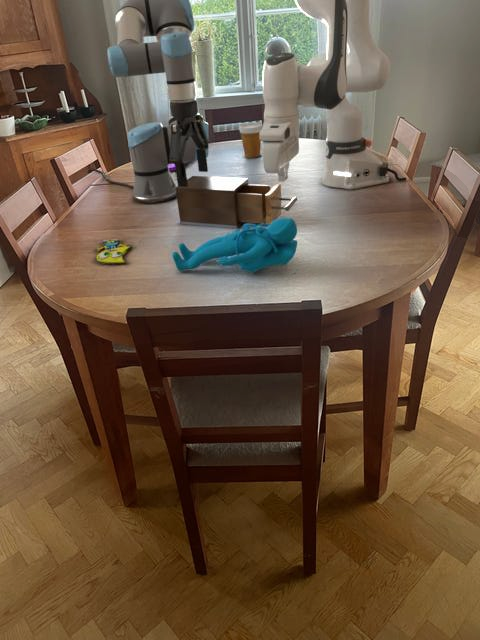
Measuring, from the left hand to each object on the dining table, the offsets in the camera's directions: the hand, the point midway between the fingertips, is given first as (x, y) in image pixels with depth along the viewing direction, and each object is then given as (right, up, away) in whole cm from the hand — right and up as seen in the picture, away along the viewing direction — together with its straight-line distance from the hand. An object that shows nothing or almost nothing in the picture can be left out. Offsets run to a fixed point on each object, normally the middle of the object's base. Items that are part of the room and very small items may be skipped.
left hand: (193, 178), depth 140 cm
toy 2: (+13, -29, -25) cm, 40 cm away
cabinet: (+6, -11, +4) cm, 13 cm away
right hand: (+25, -3, -10) cm, 28 cm away
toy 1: (-21, -23, -11) cm, 33 cm away
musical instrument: (-14, +24, +61) cm, 67 cm away
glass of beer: (+19, +28, +62) cm, 70 cm away
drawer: (+19, -12, -1) cm, 22 cm away
